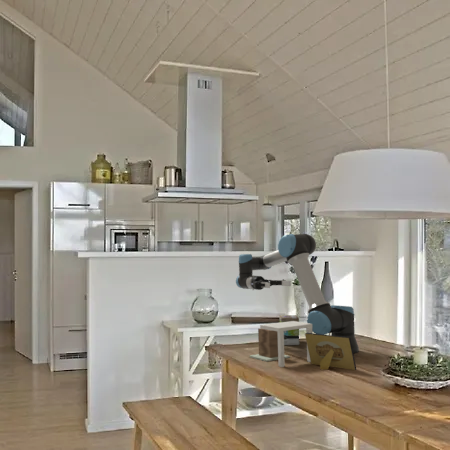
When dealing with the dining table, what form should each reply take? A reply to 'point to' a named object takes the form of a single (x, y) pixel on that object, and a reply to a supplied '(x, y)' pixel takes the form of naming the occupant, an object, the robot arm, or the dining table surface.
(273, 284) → the robot arm
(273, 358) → the mat
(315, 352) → the picture frame
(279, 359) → the small white table
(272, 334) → the walnut block
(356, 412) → the dining table surface
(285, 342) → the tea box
